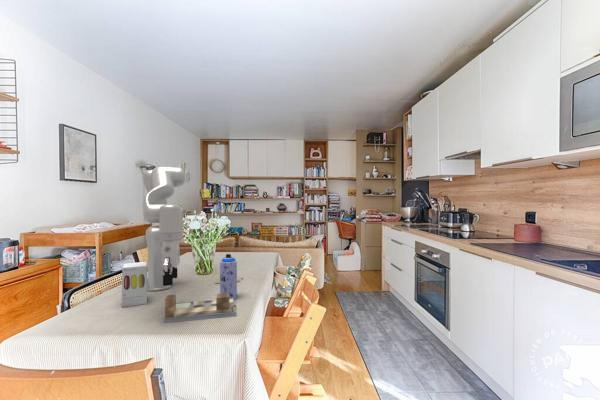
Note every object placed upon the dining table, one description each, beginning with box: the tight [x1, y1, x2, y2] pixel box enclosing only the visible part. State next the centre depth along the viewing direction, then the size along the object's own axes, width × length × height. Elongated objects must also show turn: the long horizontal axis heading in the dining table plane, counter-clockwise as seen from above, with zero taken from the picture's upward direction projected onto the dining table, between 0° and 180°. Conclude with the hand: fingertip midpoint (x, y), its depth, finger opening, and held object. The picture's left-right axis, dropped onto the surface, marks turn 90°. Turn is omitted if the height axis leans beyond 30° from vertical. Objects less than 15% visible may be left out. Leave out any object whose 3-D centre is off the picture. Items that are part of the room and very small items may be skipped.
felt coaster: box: [176, 302, 191, 309], centre depth 120 cm, size 6×6×1 cm
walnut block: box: [215, 293, 229, 310], centre depth 116 cm, size 5×5×5 cm
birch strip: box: [164, 294, 233, 318], centre depth 114 cm, size 25×5×7 cm, turn 103°
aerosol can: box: [219, 253, 238, 300], centre depth 134 cm, size 8×8×20 cm
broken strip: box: [193, 299, 233, 308], centre depth 123 cm, size 16×5×1 cm, turn 103°
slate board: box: [163, 298, 237, 324], centre depth 118 cm, size 26×16×1 cm, turn 103°
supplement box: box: [121, 261, 148, 308], centre depth 127 cm, size 10×9×17 cm
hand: (170, 281), depth 111 cm, fingers open, 9 cm apart
